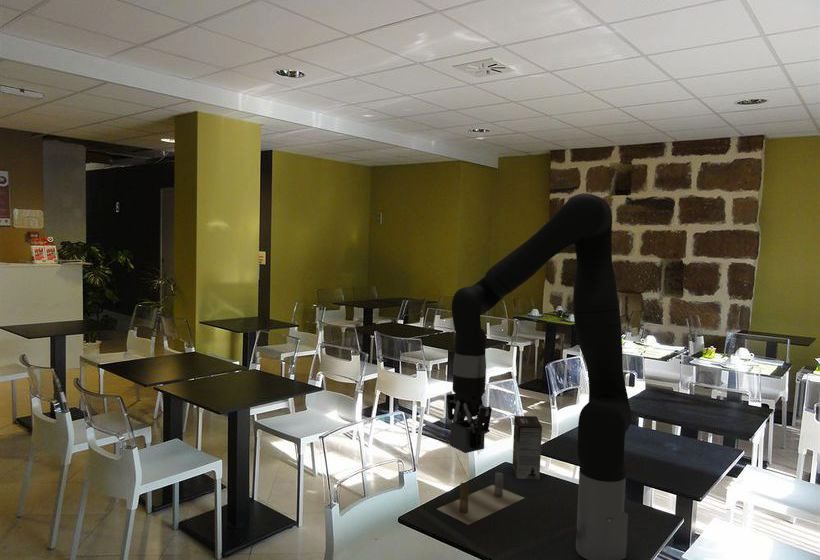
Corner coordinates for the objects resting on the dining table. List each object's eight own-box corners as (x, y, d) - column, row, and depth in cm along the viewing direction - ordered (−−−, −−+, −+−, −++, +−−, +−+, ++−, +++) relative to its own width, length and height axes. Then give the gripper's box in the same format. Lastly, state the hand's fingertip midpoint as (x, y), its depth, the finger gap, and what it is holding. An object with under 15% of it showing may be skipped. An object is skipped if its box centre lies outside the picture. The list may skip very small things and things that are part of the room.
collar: (483, 448, 137) (484, 425, 137) (465, 453, 134) (465, 429, 134) (468, 441, 142) (469, 419, 141) (450, 445, 139) (450, 422, 138)
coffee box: (511, 470, 167) (513, 415, 166) (534, 471, 167) (536, 415, 166) (516, 484, 158) (518, 425, 157) (540, 485, 158) (543, 426, 157)
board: (492, 490, 154) (493, 460, 153) (524, 503, 147) (525, 472, 146) (436, 515, 140) (437, 482, 139) (468, 531, 132) (469, 496, 132)
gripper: (502, 377, 133) (499, 450, 134) (462, 364, 145) (460, 432, 146) (476, 381, 129) (474, 457, 130) (437, 367, 140) (435, 437, 142)
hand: (466, 443), depth 138 cm, fingers closed on collar, 5 cm apart
